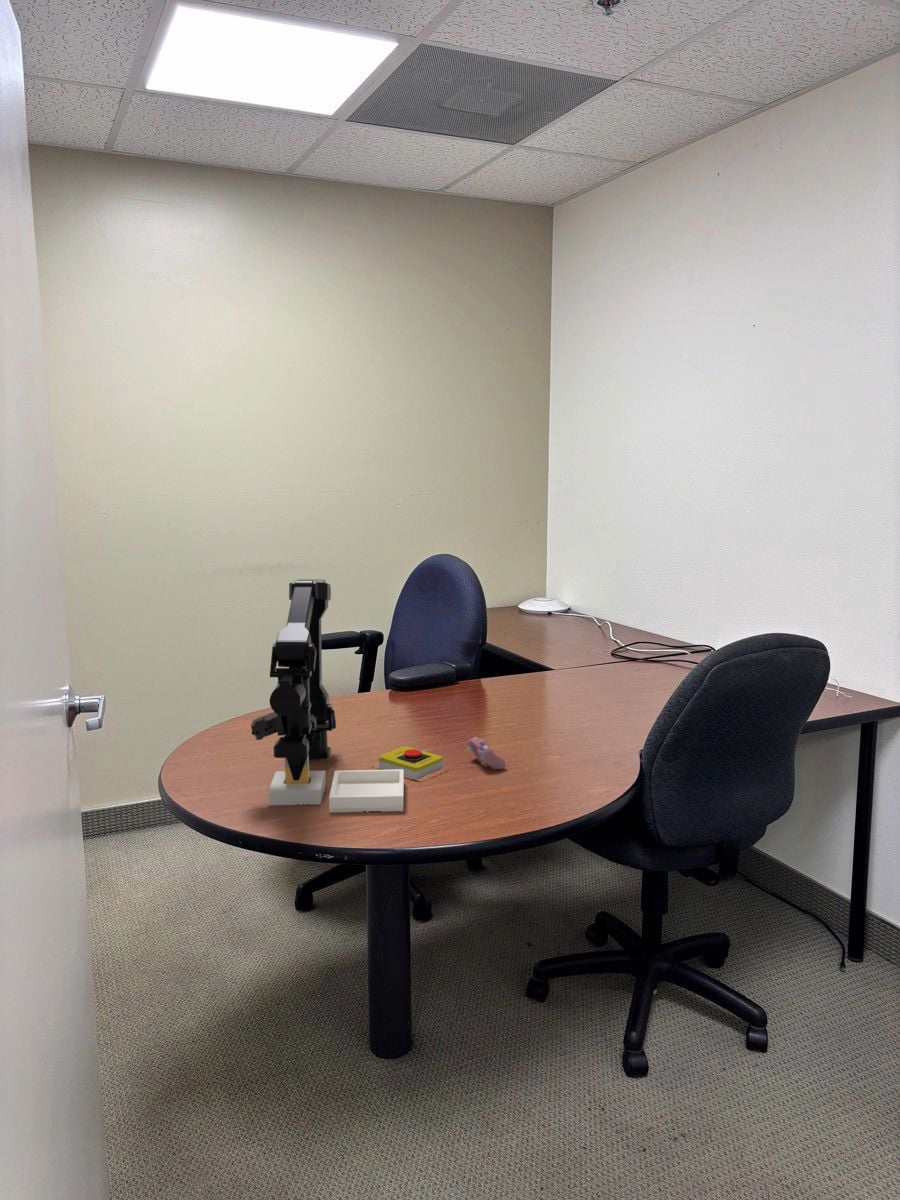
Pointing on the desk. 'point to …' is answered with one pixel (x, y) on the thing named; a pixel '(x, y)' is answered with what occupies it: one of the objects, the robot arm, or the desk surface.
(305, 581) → the robot arm
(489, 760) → the video game controller
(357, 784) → the parts tray
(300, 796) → the white slotted block
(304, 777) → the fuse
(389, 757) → the emergency button
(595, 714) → the desk surface
